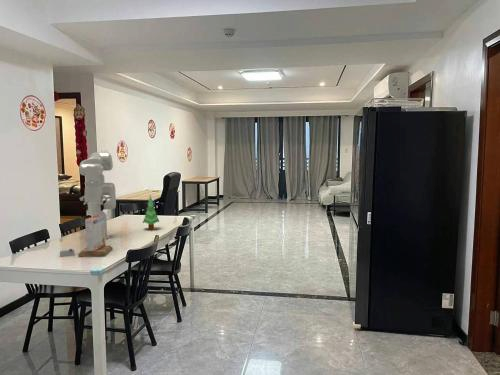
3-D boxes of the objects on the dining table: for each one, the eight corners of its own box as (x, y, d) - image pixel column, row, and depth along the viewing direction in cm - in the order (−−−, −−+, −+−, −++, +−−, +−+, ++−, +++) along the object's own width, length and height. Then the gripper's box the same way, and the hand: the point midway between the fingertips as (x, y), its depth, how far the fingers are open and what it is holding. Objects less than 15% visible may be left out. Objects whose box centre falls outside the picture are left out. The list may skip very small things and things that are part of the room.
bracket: (60, 255, 227) (60, 249, 227) (74, 254, 230) (74, 247, 230) (60, 257, 223) (59, 250, 222) (74, 256, 226) (73, 249, 226)
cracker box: (97, 245, 238) (95, 214, 236) (105, 245, 238) (104, 215, 236) (86, 251, 224) (84, 218, 222) (95, 251, 224) (93, 218, 222)
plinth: (88, 250, 238) (87, 245, 238) (112, 249, 239) (112, 245, 239) (78, 257, 222) (78, 252, 222) (104, 256, 224) (104, 251, 223)
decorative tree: (158, 227, 312) (158, 193, 310) (160, 230, 298) (159, 195, 295) (142, 228, 308) (141, 193, 305) (143, 231, 293) (142, 195, 291)
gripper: (76, 184, 222) (78, 211, 224) (105, 184, 224) (106, 211, 226) (81, 183, 230) (82, 209, 232) (108, 183, 231) (110, 209, 233)
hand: (94, 210), depth 229 cm, fingers open, 9 cm apart
